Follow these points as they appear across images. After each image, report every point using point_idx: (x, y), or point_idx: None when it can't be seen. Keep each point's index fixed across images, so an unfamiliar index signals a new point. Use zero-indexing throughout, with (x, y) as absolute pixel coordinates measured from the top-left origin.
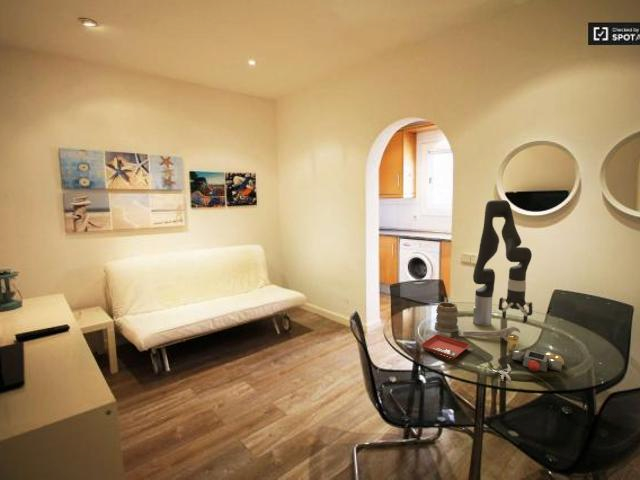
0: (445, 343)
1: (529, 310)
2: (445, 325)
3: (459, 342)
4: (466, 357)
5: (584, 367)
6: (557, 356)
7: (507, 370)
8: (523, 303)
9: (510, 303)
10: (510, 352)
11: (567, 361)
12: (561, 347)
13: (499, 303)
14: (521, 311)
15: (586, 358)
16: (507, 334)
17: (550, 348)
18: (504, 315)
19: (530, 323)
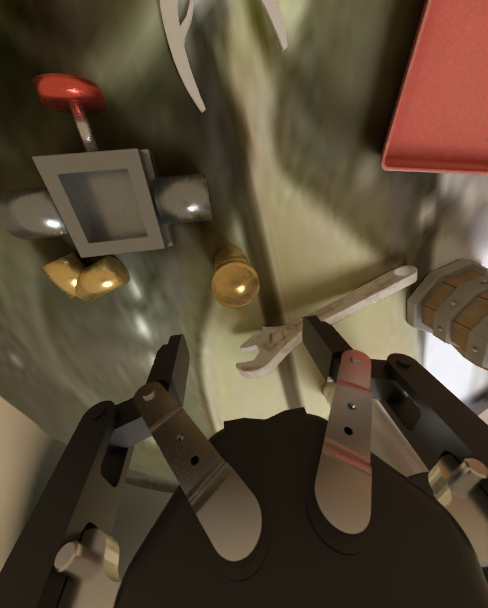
0: (466, 141)
1: (83, 465)
2: (472, 277)
3: (421, 167)
4: (376, 46)
5: (15, 303)
6: (66, 281)
7: (175, 6)
8: (140, 603)
9: (362, 488)
10: (231, 246)
11: (74, 310)
12: (138, 381)
13: (476, 422)
14: (183, 409)
15: (56, 362)
16: (270, 342)
17: None
18: (323, 331)
19: None
